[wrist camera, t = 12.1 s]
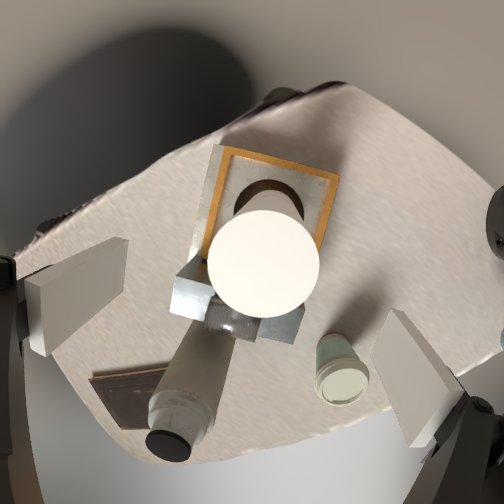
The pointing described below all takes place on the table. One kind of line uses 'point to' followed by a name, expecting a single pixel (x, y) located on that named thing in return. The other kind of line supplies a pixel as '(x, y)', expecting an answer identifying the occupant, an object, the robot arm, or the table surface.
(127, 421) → the hardcover book
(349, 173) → the table surface
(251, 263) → the cylindrical container
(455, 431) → the robot arm
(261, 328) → the grey stand with tray
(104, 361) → the table surface
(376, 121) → the table surface
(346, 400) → the coffee cup
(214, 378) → the thermos bottle
